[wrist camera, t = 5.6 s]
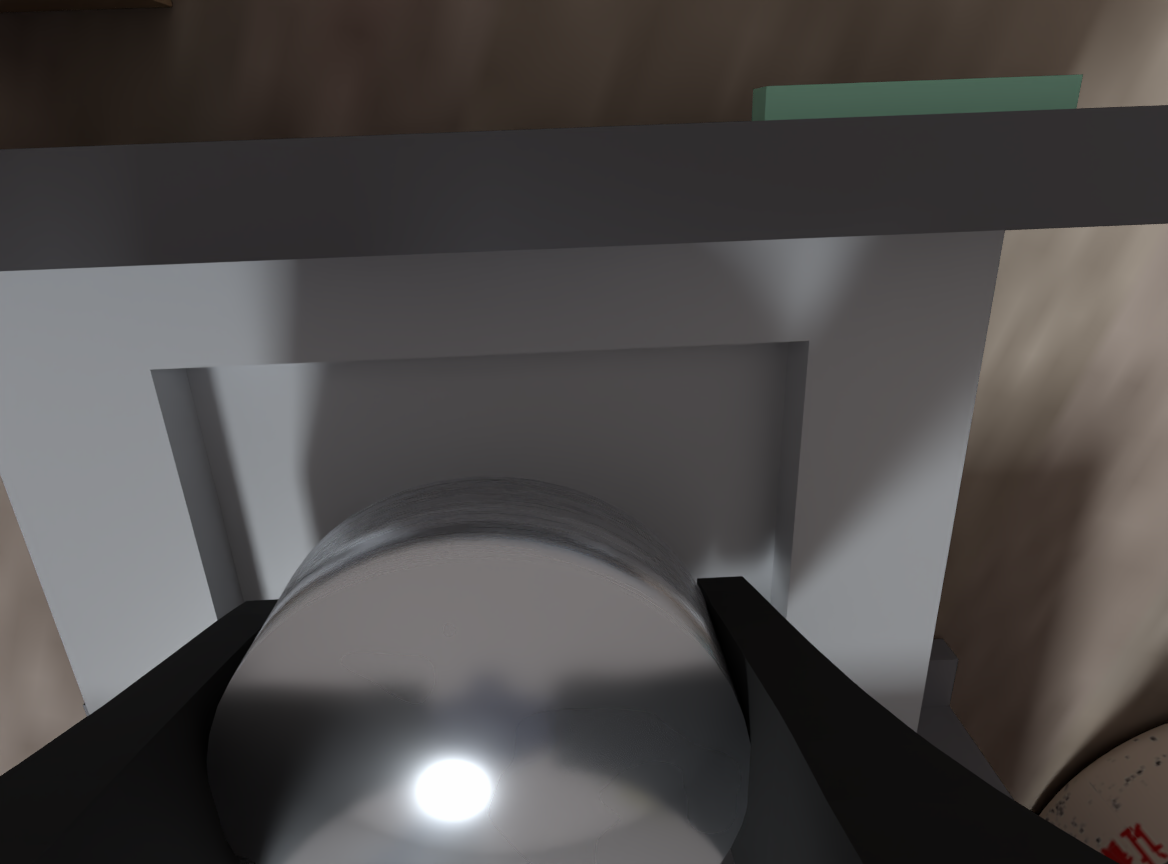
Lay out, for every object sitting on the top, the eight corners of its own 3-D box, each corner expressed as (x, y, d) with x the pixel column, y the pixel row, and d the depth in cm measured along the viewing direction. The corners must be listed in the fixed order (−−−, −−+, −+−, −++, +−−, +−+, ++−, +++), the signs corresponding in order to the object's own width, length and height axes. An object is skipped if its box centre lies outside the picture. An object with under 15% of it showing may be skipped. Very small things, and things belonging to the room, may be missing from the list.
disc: (319, 850, 10) (274, 988, 9) (220, 495, 8) (136, 586, 7) (716, 818, 10) (747, 949, 9) (718, 458, 8) (760, 540, 7)
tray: (144, 796, 15) (-14, 1051, 11) (-90, 131, 10) (-531, 130, 6) (917, 753, 15) (1053, 985, 11) (1036, 89, 10) (1349, 59, 6)
